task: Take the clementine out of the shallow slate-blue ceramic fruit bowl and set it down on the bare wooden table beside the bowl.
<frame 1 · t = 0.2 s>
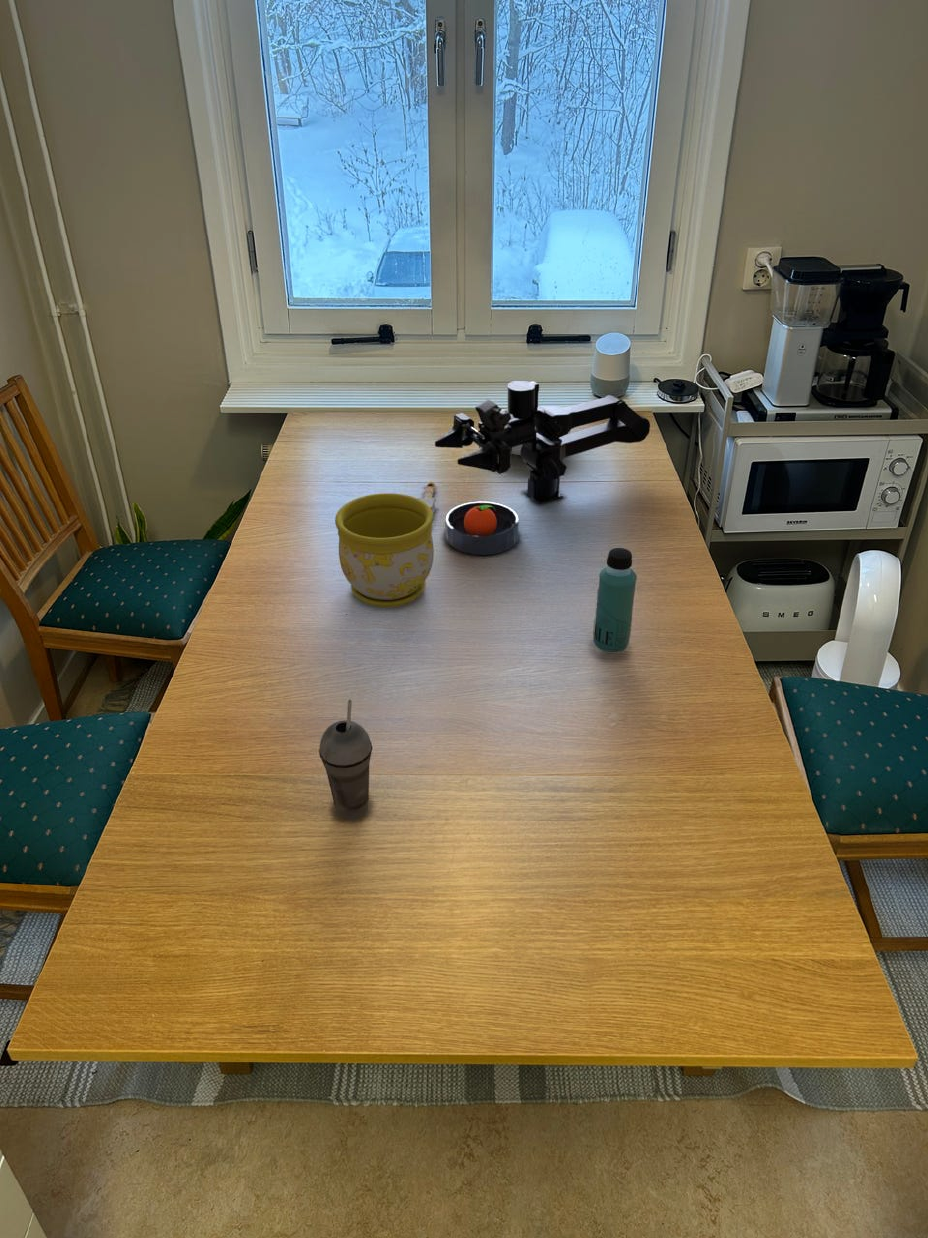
hand: (446, 452, 190), 17 cm above the table, tool horizontal, fingers open, 9 cm apart
paintbrush: (426, 509, 205), on the table
serving bowl: (527, 448, 231), on the table
flowerpot: (388, 590, 178), on the table
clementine: (481, 536, 194), resting on fruit bowl
beverage bottle: (610, 650, 162), on the table
beverage cup: (352, 809, 132), on the table
fruit bowl: (481, 537, 194), on the table
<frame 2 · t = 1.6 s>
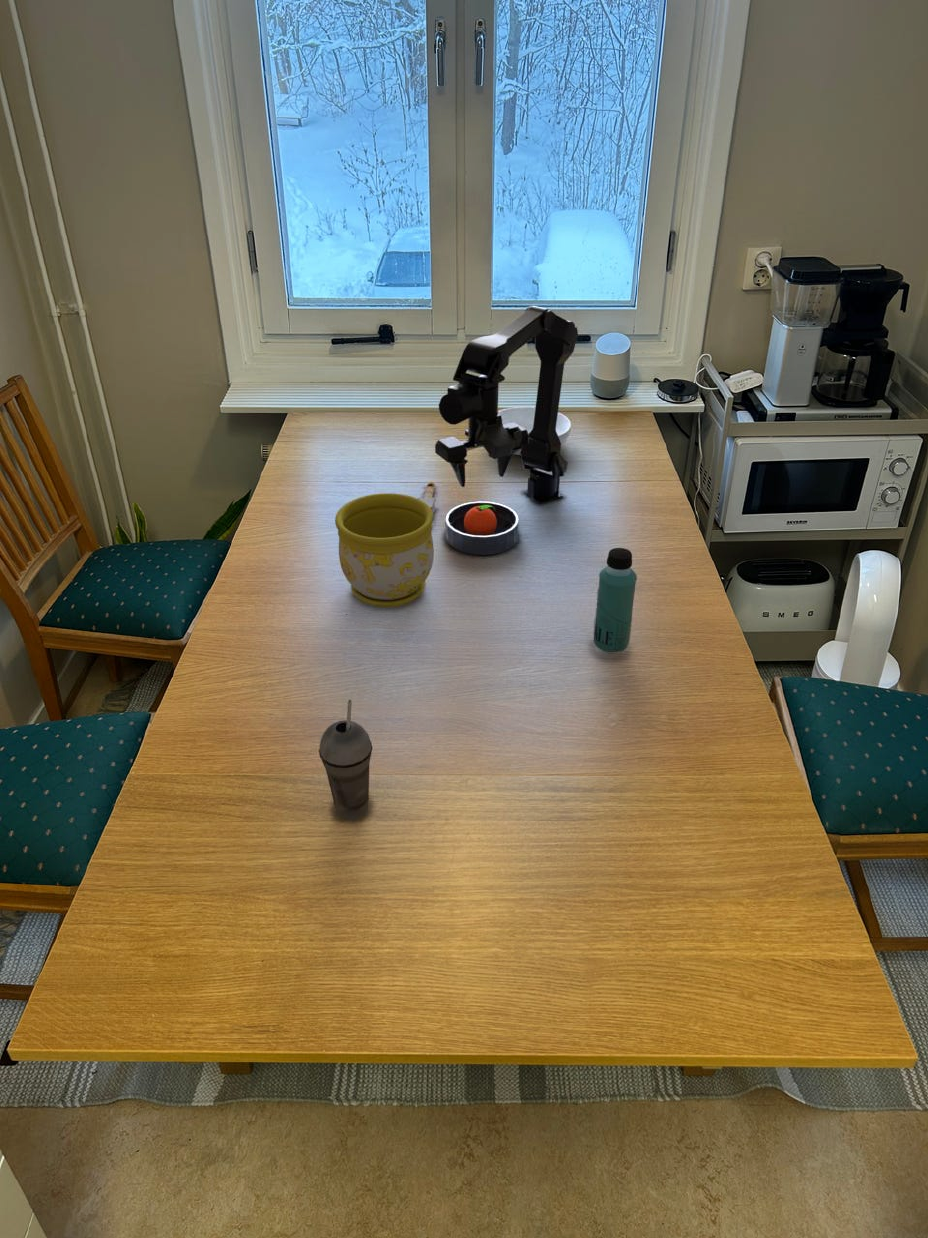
hand: (482, 481, 187), 13 cm above the table, tool pointing down, fingers open, 9 cm apart
nothing on the table moved.
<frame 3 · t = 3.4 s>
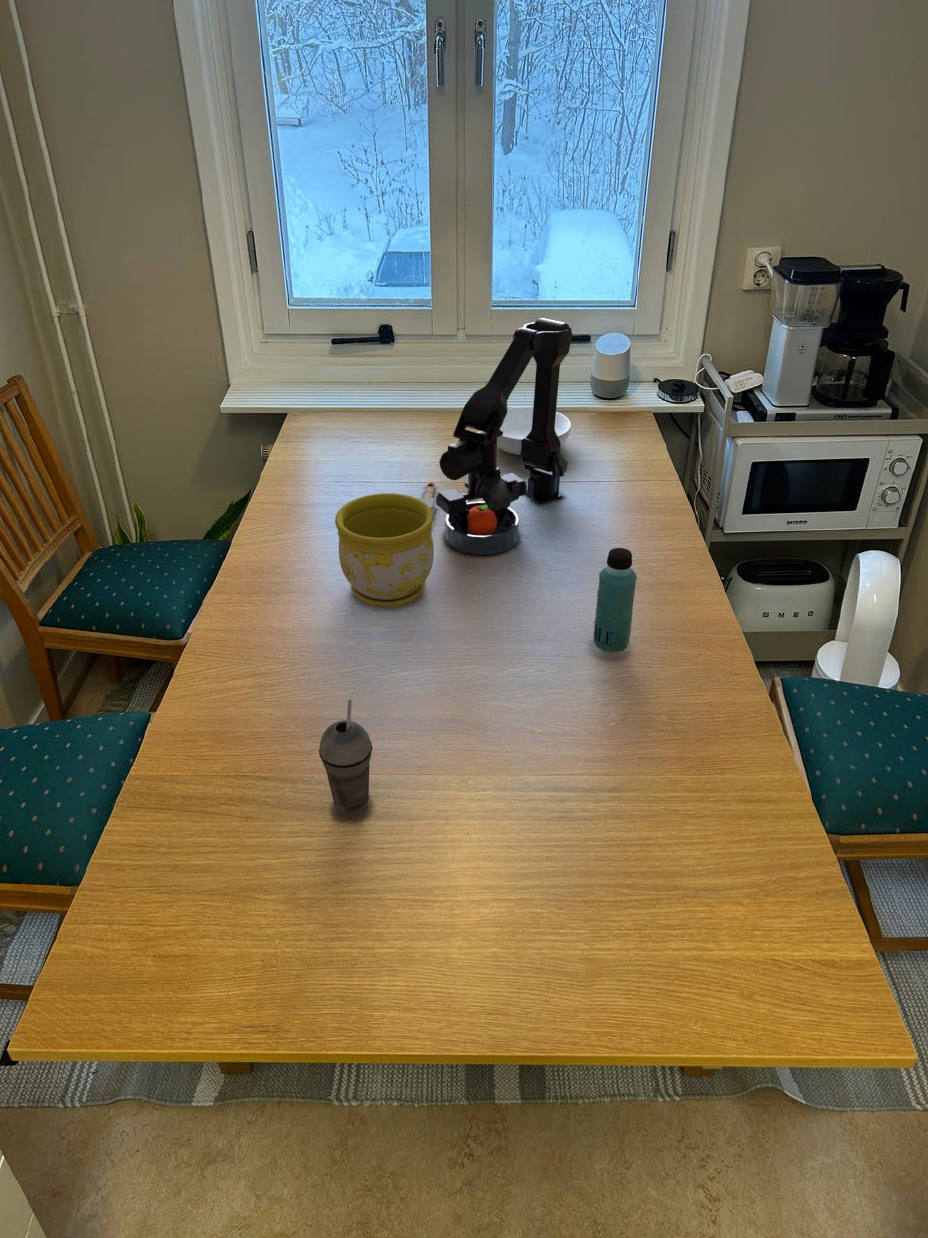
hand: (481, 529, 193), 2 cm above the table, tool pointing down, fingers closed on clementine, 8 cm apart
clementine: (482, 536, 194), resting on fruit bowl, touching gripper
everything else where it was.
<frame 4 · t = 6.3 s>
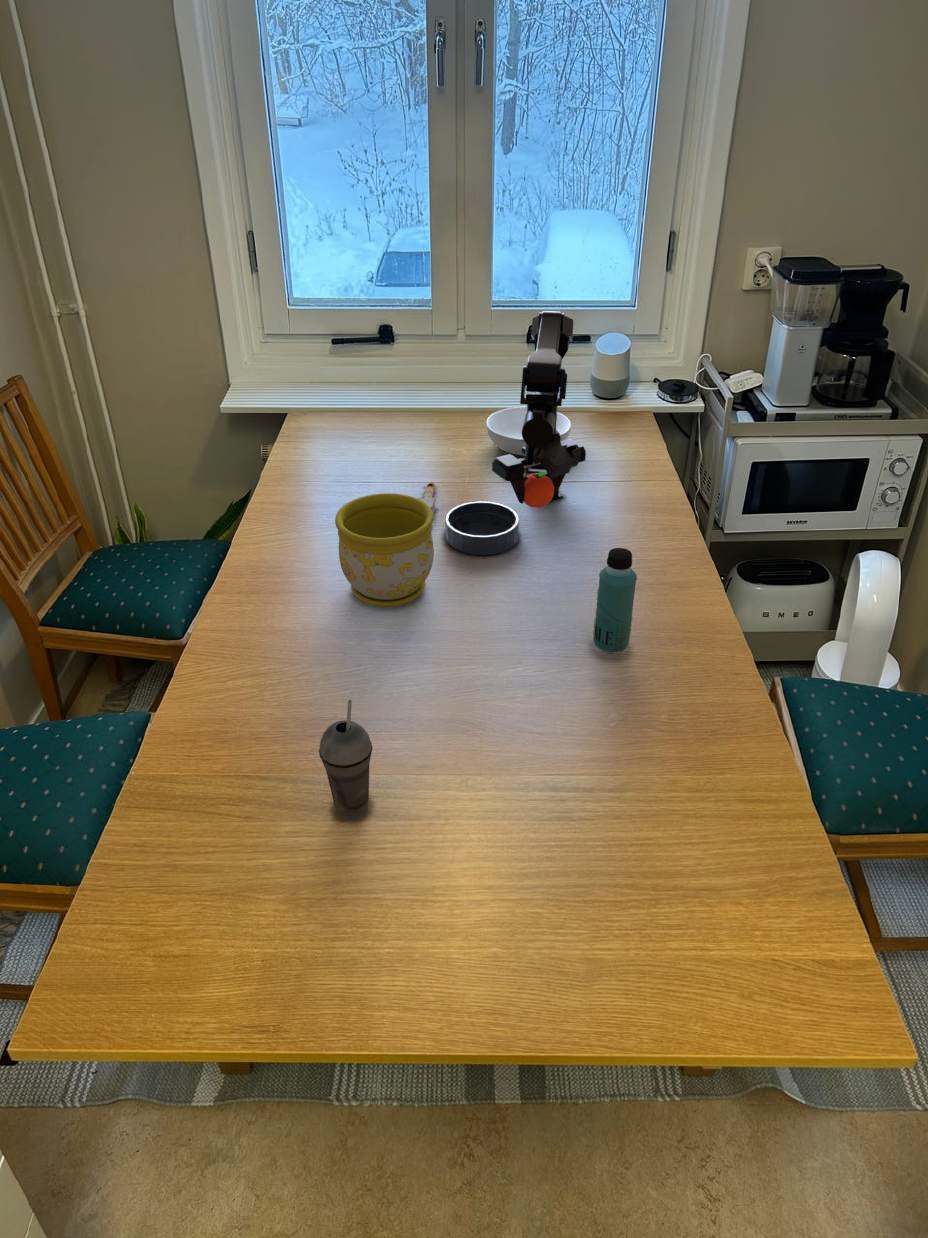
hand: (537, 498, 185), 11 cm above the table, tool pointing down, fingers closed on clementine, 8 cm apart
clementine: (537, 505, 186), point 9 cm above the table, touching gripper
everything else where it was.
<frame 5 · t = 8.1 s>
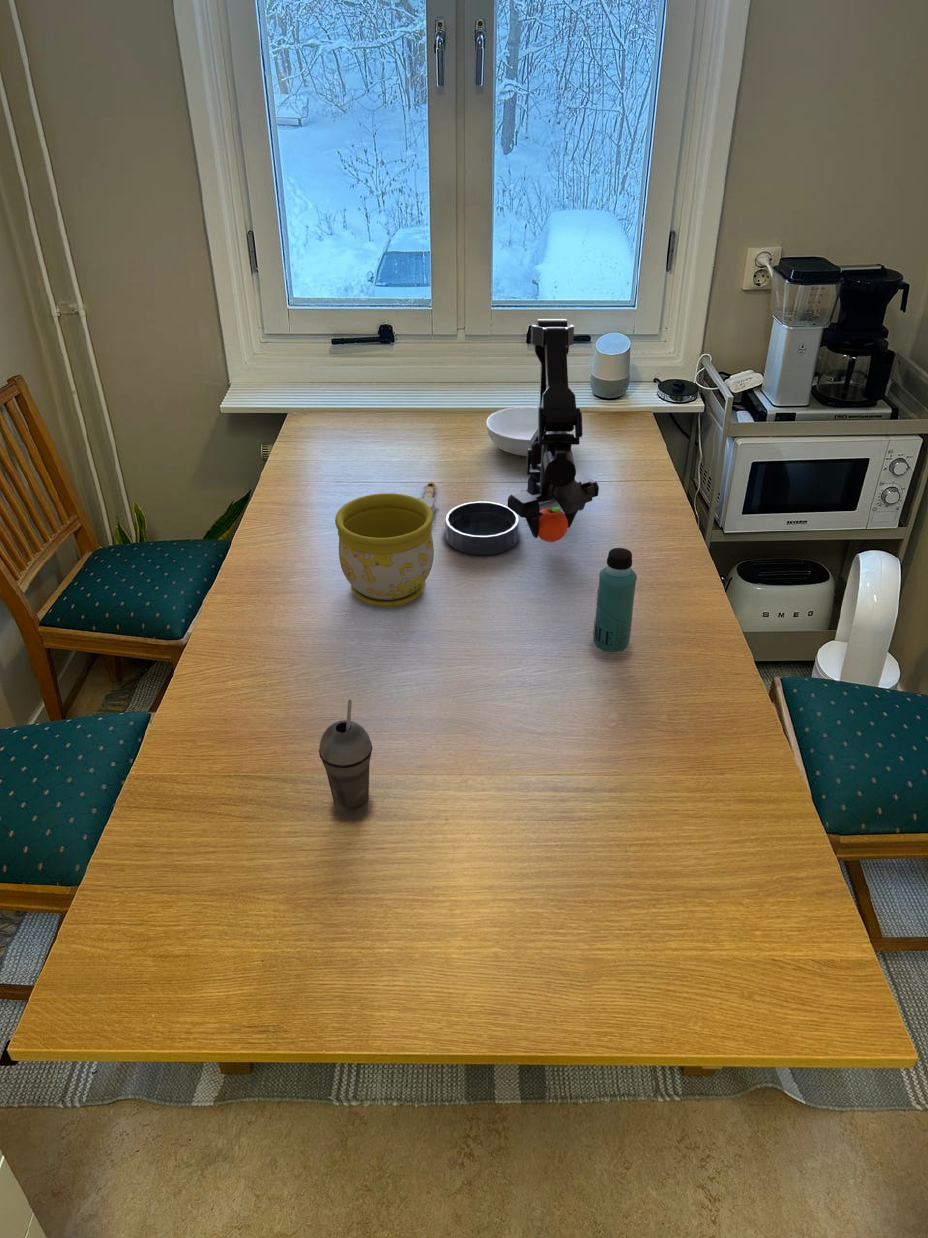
hand: (551, 532, 189), 4 cm above the table, tool pointing down, fingers closed on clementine, 8 cm apart
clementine: (551, 539, 190), point 2 cm above the table, touching gripper
everything else where it was.
when the fingers open (2 cm above the table, at t = 9.4 s): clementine stays where it is, on the table.
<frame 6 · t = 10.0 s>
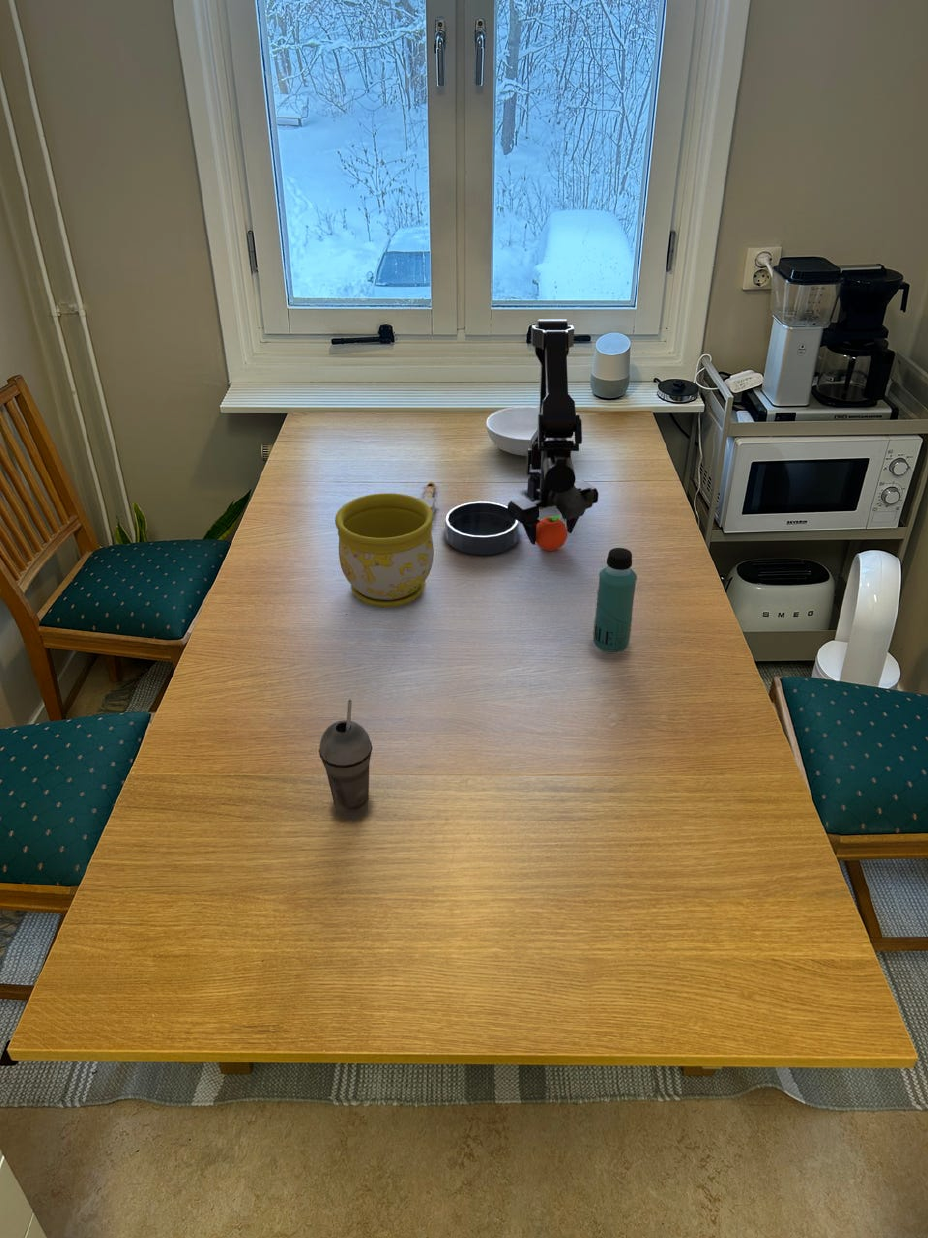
hand: (551, 538, 189), 2 cm above the table, tool pointing down, fingers open, 9 cm apart
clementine: (551, 548, 191), on the table
everything else where it was.
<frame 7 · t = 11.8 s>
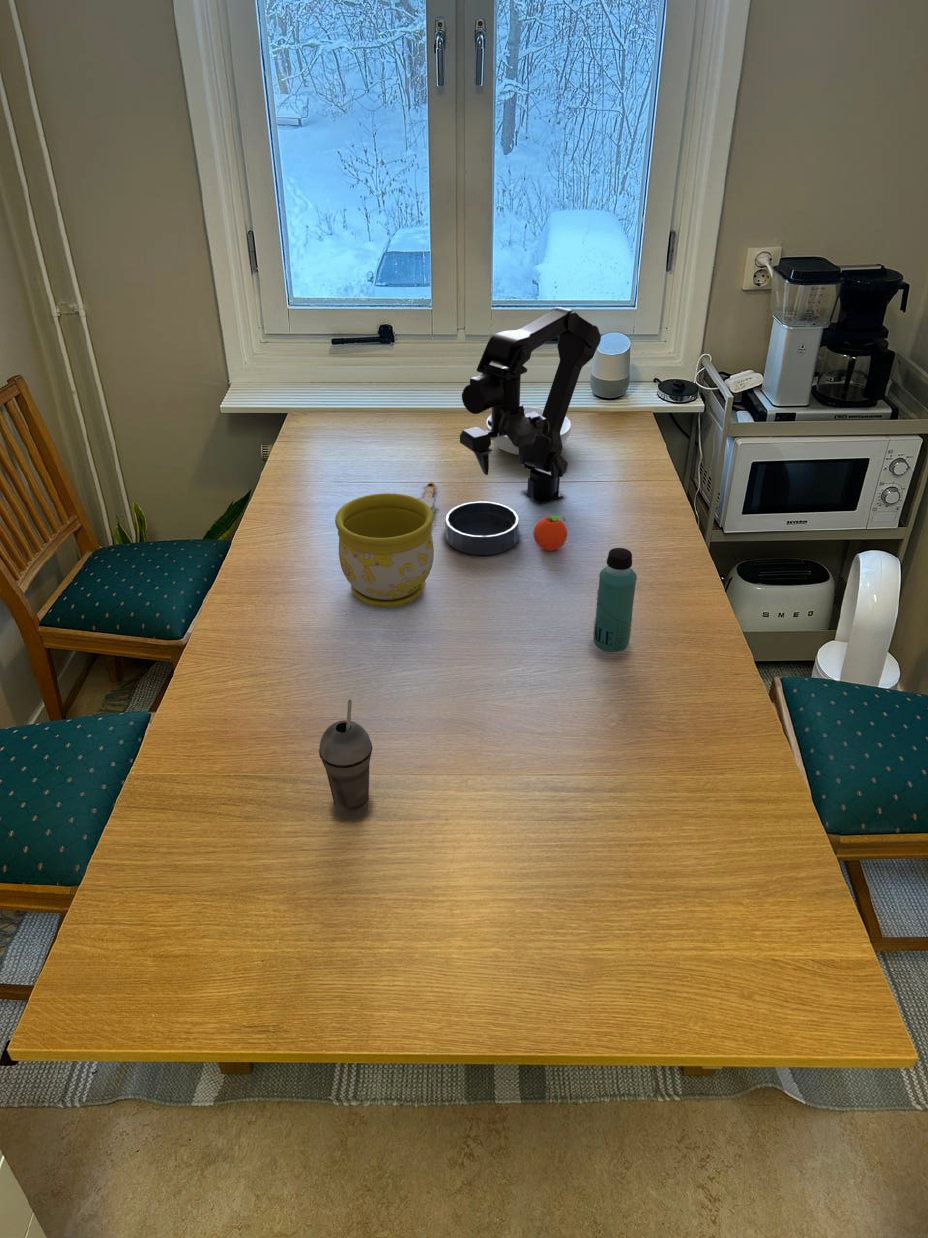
hand: (504, 469, 194), 12 cm above the table, tool pointing down, fingers open, 9 cm apart
nothing on the table moved.
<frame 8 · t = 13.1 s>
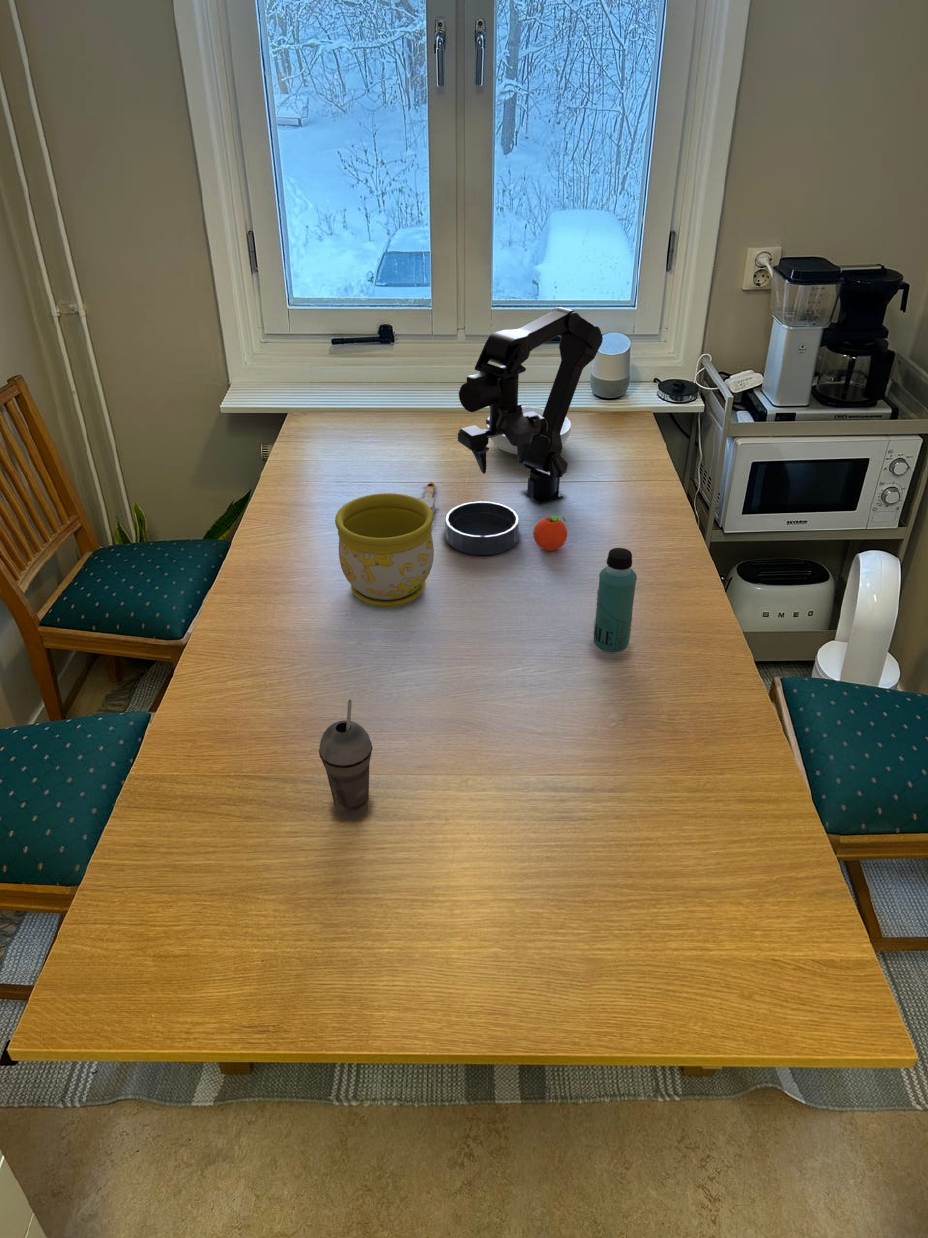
hand: (502, 467, 194), 12 cm above the table, tool pointing down, fingers open, 9 cm apart
nothing on the table moved.
at the end: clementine inside the target area (0.2 cm from its centre), on the table; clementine touching table; the gripper is holding nothing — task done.
